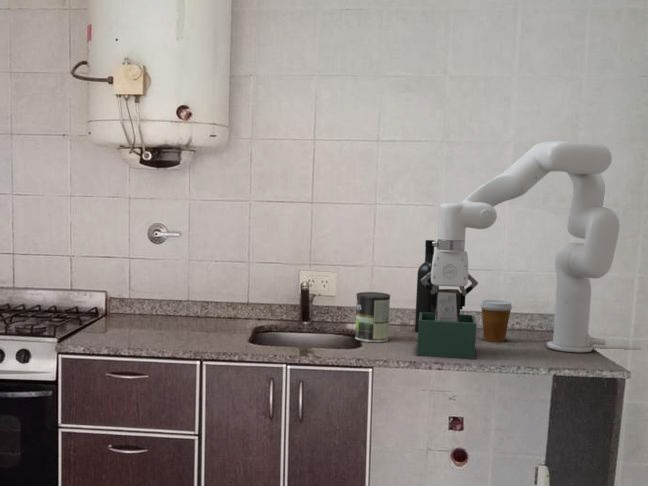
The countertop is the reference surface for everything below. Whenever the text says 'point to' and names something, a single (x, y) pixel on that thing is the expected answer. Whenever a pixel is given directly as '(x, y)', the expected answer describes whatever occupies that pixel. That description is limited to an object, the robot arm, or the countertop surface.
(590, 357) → the countertop surface
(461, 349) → the green storage bin
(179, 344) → the countertop surface
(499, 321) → the disposable coffee cup
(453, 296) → the coffee box
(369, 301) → the coffee can
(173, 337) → the countertop surface
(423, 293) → the wine bottle
